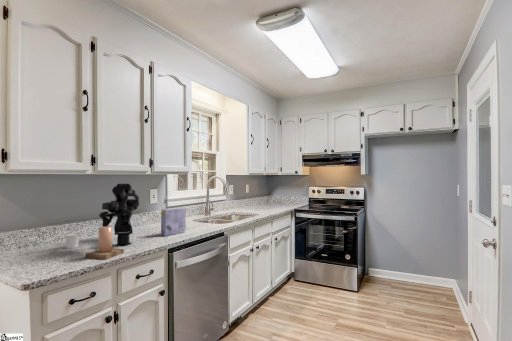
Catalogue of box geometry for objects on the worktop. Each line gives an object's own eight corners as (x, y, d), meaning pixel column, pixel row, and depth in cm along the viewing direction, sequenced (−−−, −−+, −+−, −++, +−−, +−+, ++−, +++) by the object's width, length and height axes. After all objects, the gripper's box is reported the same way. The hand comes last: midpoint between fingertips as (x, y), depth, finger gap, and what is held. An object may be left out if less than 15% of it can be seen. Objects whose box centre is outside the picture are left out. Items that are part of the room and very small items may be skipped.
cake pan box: (182, 231, 208) (182, 207, 209) (187, 232, 205) (187, 207, 206) (160, 235, 192) (160, 209, 193) (165, 236, 189) (165, 209, 190)
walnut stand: (104, 251, 151) (104, 247, 151) (123, 253, 148) (123, 249, 148) (85, 257, 139) (85, 253, 139) (106, 259, 137) (106, 255, 137)
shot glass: (65, 249, 156) (65, 236, 156) (64, 246, 162) (64, 234, 162) (79, 247, 160) (80, 234, 160) (78, 245, 166) (78, 232, 166)
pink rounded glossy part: (99, 250, 146) (99, 226, 146) (112, 249, 148) (112, 225, 148) (97, 253, 140) (97, 228, 140) (111, 252, 142) (111, 227, 142)
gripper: (97, 198, 159) (84, 224, 150) (120, 193, 152) (109, 220, 143) (112, 207, 167) (101, 232, 158) (136, 203, 160) (126, 229, 151)
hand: (109, 228), depth 152 cm, fingers open, 9 cm apart
